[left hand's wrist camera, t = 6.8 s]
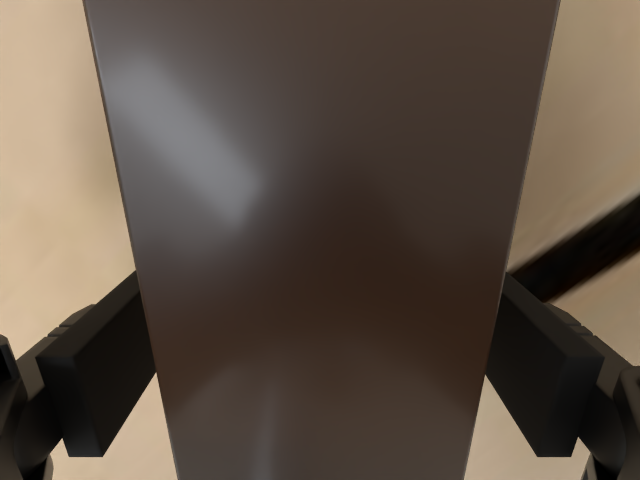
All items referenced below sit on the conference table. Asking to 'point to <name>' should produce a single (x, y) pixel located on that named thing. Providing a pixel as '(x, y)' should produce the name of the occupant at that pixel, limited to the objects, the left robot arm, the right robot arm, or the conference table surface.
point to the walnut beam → (321, 219)
